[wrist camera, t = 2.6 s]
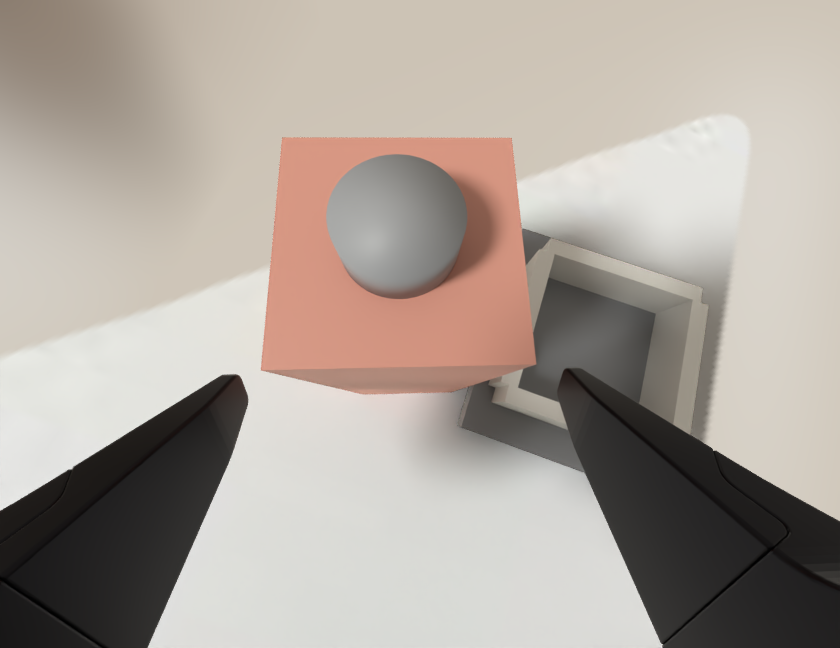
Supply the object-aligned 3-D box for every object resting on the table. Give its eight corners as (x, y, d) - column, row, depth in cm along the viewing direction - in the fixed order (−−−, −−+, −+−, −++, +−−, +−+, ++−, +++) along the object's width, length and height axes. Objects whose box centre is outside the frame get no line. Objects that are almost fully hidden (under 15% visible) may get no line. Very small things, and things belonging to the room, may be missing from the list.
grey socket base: (633, 490, 18) (696, 514, 14) (457, 425, 18) (469, 430, 14) (668, 291, 20) (729, 265, 17) (515, 240, 21) (538, 203, 17)
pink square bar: (451, 392, 19) (560, 356, 5) (362, 394, 19) (231, 362, 5) (447, 307, 20) (527, 96, 6) (364, 308, 20) (262, 95, 6)
